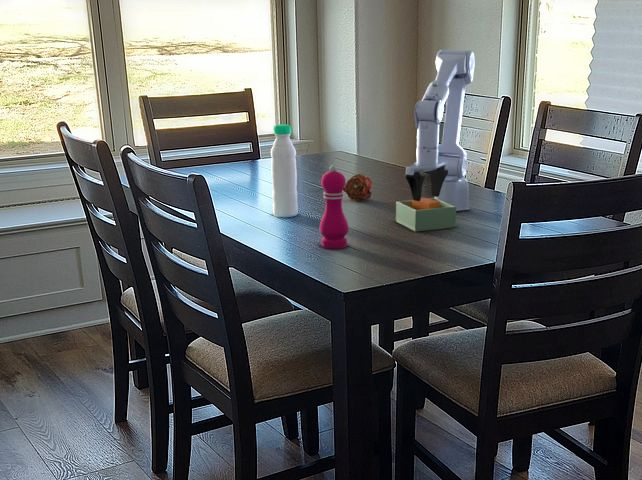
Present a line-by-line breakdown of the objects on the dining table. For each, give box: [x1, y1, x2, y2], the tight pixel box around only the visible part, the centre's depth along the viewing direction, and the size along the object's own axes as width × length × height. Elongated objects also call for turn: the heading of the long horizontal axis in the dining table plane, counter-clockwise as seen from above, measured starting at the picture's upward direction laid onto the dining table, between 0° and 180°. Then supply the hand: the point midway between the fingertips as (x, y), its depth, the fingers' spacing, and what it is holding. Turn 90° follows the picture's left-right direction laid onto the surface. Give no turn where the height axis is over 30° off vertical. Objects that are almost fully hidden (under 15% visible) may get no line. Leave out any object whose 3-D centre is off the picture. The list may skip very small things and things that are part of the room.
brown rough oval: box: [342, 173, 373, 202], centre depth 261 cm, size 8×8×12 cm
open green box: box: [395, 197, 457, 232], centre depth 232 cm, size 12×12×6 cm
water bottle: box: [270, 123, 299, 218], centre depth 238 cm, size 7×7×25 cm
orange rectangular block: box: [411, 197, 440, 210], centre depth 232 cm, size 4×7×6 cm, turn 38°
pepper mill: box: [319, 164, 350, 250], centre depth 209 cm, size 7×7×20 cm
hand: (426, 198), depth 231 cm, fingers open, 7 cm apart
